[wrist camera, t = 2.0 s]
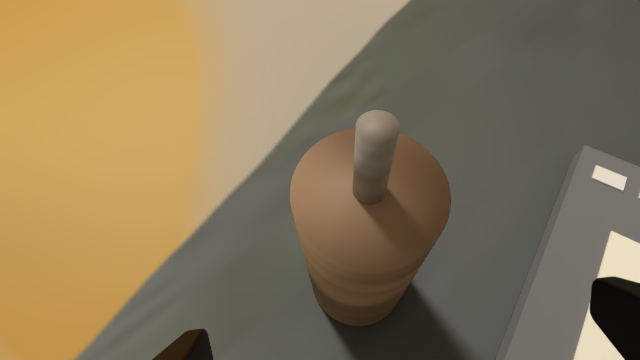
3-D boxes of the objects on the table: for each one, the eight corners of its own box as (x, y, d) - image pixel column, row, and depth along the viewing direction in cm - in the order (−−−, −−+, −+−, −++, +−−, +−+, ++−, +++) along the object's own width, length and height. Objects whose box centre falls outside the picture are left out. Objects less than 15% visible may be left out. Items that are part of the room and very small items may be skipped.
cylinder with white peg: (373, 346, 18) (430, 268, 7) (294, 292, 19) (231, 155, 8) (417, 266, 20) (517, 99, 8) (342, 222, 21) (343, 33, 10)
